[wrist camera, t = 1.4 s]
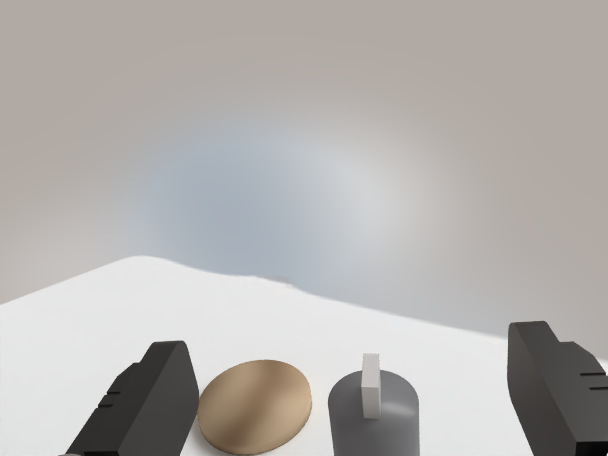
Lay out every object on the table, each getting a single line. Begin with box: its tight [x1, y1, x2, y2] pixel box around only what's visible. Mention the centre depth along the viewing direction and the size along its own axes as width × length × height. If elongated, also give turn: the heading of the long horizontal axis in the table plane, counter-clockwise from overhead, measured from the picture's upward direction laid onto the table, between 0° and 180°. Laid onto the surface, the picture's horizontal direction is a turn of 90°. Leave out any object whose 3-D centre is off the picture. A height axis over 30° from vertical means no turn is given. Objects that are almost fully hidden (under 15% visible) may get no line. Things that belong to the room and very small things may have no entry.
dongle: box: [328, 354, 420, 456], centre depth 27 cm, size 5×5×12 cm
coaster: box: [197, 360, 312, 455], centre depth 39 cm, size 9×9×1 cm
